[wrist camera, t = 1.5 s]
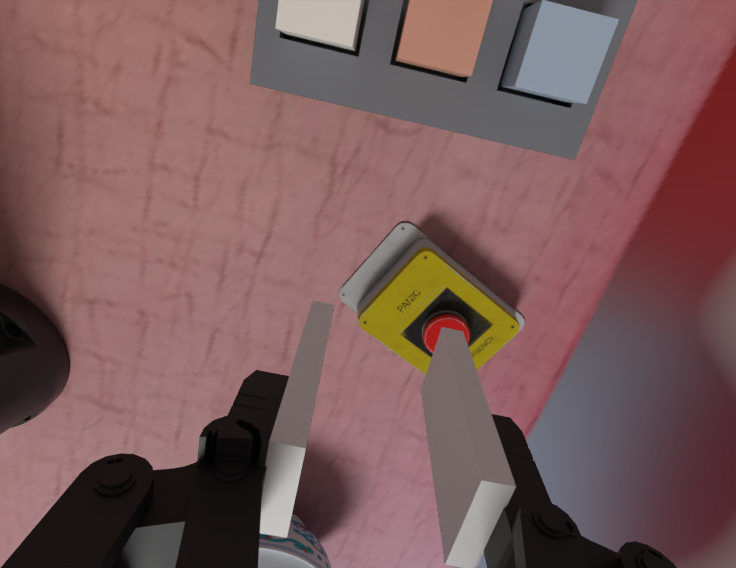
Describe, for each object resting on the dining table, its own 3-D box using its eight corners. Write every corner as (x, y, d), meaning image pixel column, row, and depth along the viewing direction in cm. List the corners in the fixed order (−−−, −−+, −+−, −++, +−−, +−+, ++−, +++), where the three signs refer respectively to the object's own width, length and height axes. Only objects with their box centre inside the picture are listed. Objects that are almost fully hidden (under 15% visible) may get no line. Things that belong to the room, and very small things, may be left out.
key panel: (265, 84, 33) (250, 84, 29) (287, -101, 29) (272, -132, 25) (551, 151, 35) (574, 160, 30) (612, -16, 30) (649, -31, 26)
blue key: (499, 86, 29) (514, 86, 26) (523, 9, 28) (542, -1, 24) (564, 102, 30) (586, 103, 26) (591, 26, 28) (619, 19, 25)
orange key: (395, 60, 29) (397, 57, 26) (412, -19, 27) (417, -33, 24) (461, 77, 29) (471, 75, 26) (482, -1, 27) (496, -13, 24)
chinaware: (191, 492, 50) (160, 559, 43) (320, 471, 48) (310, 537, 41) (238, 579, 56) (217, 650, 49) (355, 562, 54) (352, 634, 47)
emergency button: (463, 413, 40) (329, 316, 36) (456, 383, 44) (334, 293, 40) (543, 344, 37) (406, 231, 33) (527, 318, 41) (403, 215, 37)
